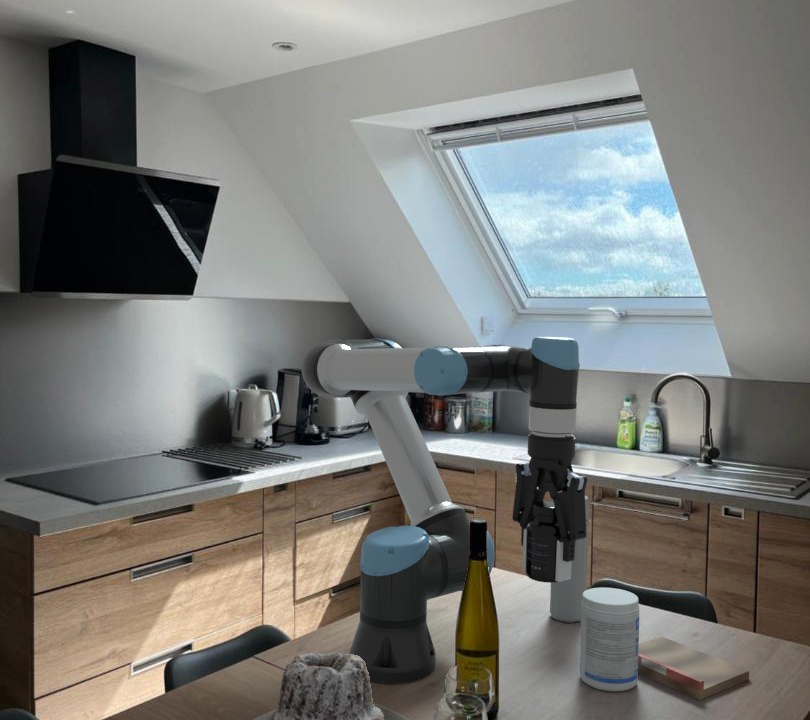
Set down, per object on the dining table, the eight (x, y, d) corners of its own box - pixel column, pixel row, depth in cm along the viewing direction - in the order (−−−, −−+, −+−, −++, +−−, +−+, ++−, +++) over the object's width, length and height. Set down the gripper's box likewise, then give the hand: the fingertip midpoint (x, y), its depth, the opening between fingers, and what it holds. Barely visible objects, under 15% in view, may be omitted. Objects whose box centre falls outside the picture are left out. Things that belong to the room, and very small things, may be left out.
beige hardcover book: (611, 661, 149) (611, 644, 149) (661, 644, 158) (661, 628, 158) (698, 700, 135) (699, 682, 135) (748, 679, 143) (749, 662, 143)
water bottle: (585, 626, 166) (590, 501, 165) (545, 621, 168) (549, 498, 167) (588, 610, 175) (593, 492, 173) (551, 606, 177) (554, 489, 176)
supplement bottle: (538, 567, 141) (541, 496, 140) (574, 576, 137) (578, 504, 136) (516, 576, 136) (519, 503, 135) (554, 586, 131) (557, 511, 130)
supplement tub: (648, 690, 138) (651, 603, 137) (596, 696, 136) (599, 607, 135) (618, 666, 147) (621, 584, 147) (569, 671, 145) (571, 588, 144)
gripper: (615, 440, 129) (608, 586, 130) (525, 423, 145) (520, 554, 146) (582, 444, 124) (575, 595, 126) (493, 426, 140) (488, 560, 142)
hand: (546, 573), depth 136 cm, fingers closed on supplement bottle, 7 cm apart
